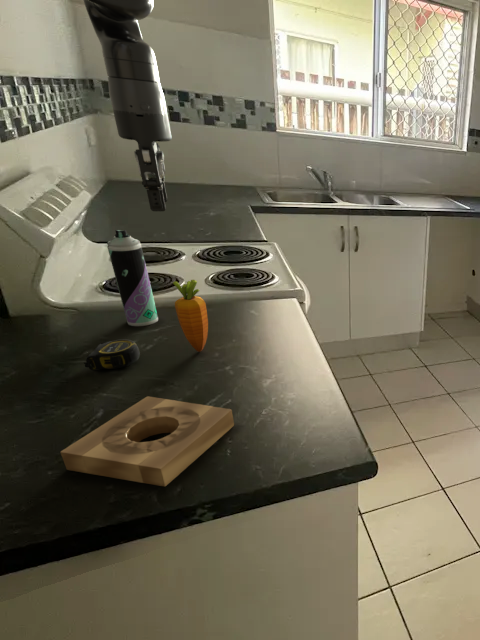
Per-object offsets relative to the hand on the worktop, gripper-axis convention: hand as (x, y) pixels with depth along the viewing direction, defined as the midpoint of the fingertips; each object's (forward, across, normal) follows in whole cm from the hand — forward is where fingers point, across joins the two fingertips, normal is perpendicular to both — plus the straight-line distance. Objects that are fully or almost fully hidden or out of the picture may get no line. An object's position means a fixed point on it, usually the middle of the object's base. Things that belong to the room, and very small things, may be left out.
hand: (159, 206), depth 87 cm
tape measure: (+27, +9, -11) cm, 31 cm away
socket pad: (+27, +38, -3) cm, 46 cm away
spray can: (+27, -12, -8) cm, 31 cm away
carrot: (+27, +8, +2) cm, 28 cm away
